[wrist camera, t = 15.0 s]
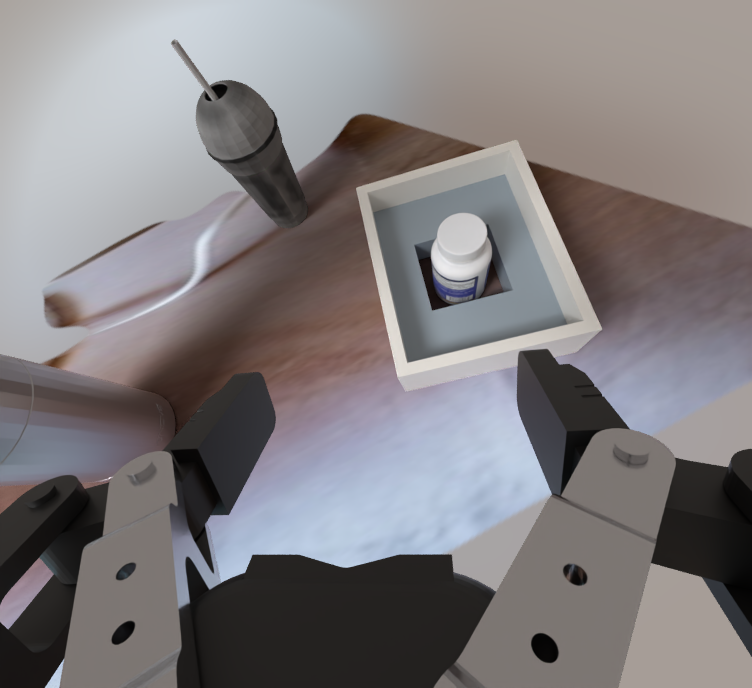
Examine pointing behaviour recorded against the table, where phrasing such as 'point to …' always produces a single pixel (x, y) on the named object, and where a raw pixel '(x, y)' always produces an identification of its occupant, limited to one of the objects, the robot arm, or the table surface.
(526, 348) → the bore box
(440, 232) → the pill bottle
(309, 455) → the table surface
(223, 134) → the beverage cup
